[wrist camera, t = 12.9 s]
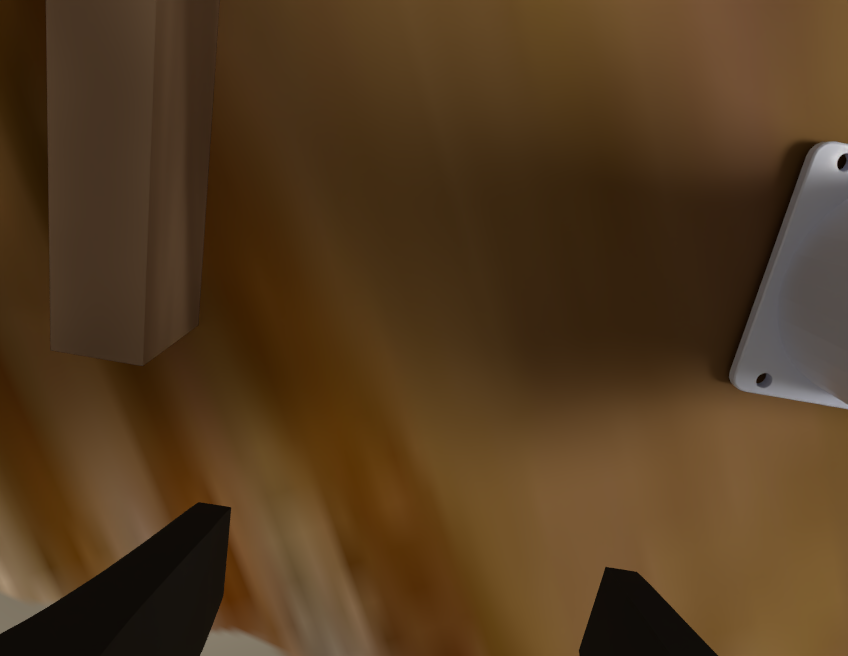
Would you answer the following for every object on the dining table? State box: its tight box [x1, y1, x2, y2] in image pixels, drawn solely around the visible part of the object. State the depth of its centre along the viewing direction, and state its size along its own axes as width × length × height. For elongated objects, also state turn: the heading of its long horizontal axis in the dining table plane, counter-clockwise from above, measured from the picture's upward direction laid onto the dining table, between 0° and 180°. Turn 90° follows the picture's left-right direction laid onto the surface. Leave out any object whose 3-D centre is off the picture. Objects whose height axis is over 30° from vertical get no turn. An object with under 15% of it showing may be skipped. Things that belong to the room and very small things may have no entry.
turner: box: [46, 0, 220, 366], centre depth 15 cm, size 6×17×4 cm, turn 170°
